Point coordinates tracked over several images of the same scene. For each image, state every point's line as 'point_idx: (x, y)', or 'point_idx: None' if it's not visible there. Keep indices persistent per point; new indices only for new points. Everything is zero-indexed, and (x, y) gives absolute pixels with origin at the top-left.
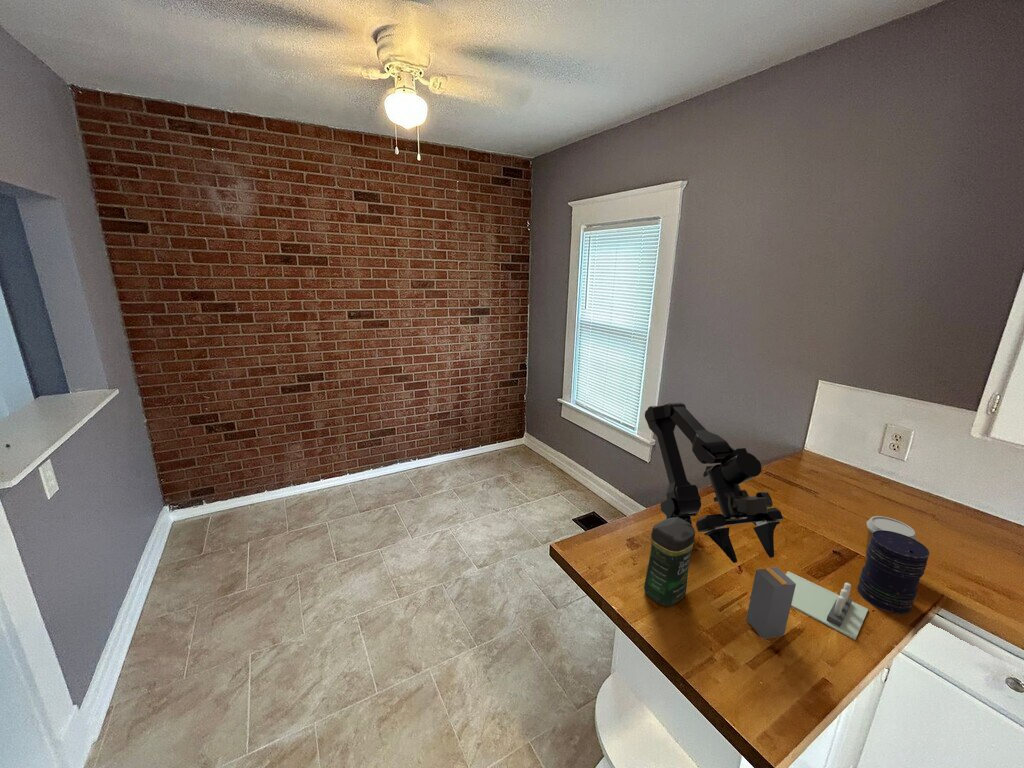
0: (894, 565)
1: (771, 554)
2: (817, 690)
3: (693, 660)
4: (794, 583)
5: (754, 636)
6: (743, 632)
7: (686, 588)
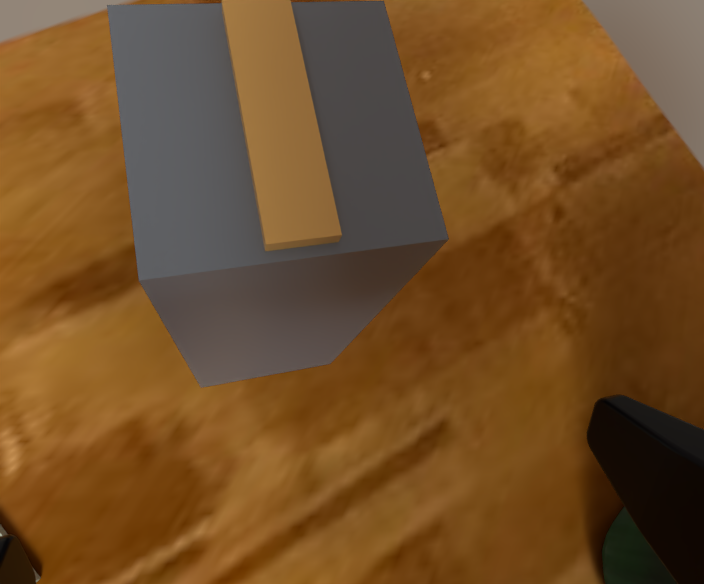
0: None
1: (3, 574)
2: None
3: (634, 171)
4: (120, 14)
5: None
6: None
7: (636, 536)
